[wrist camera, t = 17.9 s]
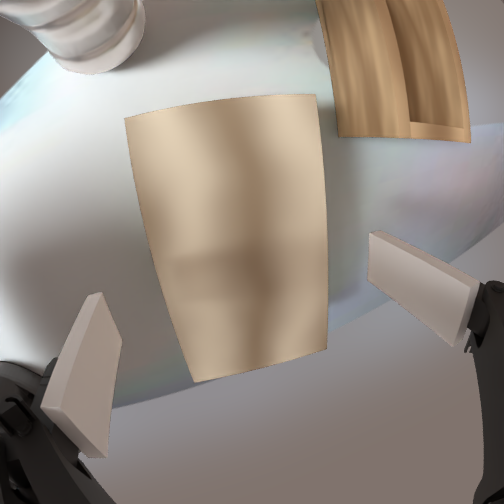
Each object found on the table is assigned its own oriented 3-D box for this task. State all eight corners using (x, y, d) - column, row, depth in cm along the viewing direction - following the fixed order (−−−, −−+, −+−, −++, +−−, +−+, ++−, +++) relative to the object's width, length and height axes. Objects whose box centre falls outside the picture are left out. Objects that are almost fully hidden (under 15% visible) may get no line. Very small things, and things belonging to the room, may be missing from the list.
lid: (192, 364, 20) (194, 382, 18) (131, 122, 13) (124, 118, 12) (316, 333, 21) (326, 348, 20) (301, 99, 15) (315, 94, 13)
